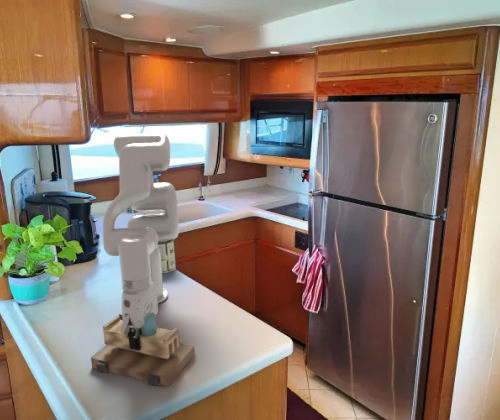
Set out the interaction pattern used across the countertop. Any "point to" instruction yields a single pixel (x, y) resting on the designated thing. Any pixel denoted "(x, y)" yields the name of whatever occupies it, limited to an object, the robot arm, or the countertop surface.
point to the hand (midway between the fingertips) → (142, 341)
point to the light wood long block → (142, 339)
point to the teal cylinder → (149, 326)
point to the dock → (143, 363)
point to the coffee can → (167, 255)
